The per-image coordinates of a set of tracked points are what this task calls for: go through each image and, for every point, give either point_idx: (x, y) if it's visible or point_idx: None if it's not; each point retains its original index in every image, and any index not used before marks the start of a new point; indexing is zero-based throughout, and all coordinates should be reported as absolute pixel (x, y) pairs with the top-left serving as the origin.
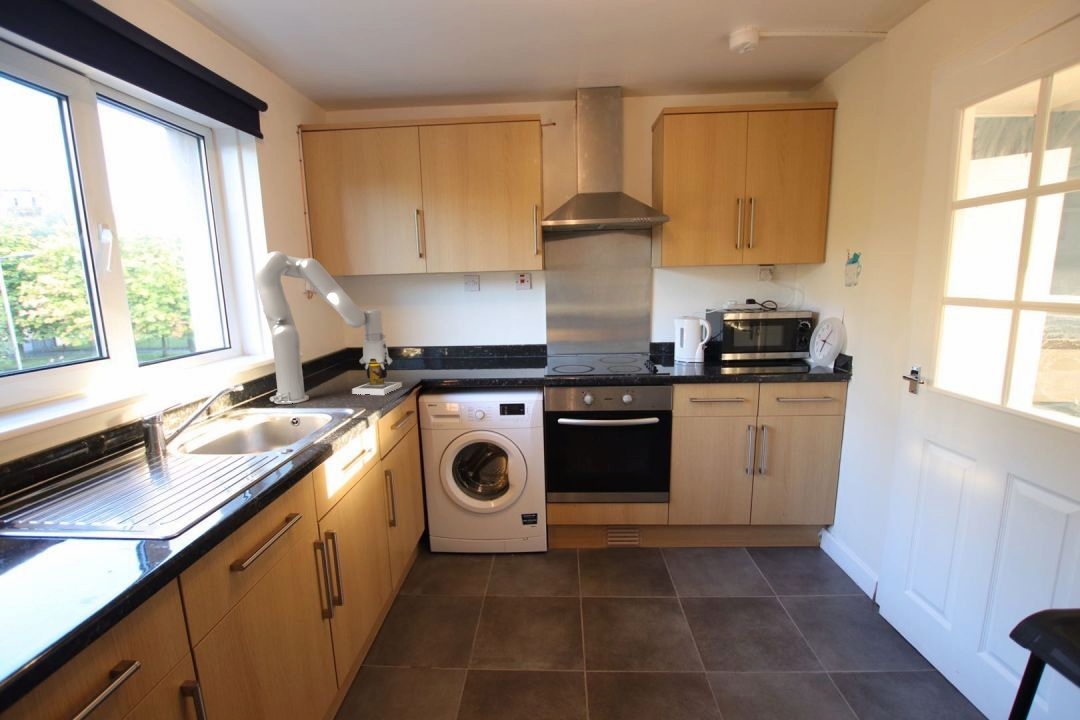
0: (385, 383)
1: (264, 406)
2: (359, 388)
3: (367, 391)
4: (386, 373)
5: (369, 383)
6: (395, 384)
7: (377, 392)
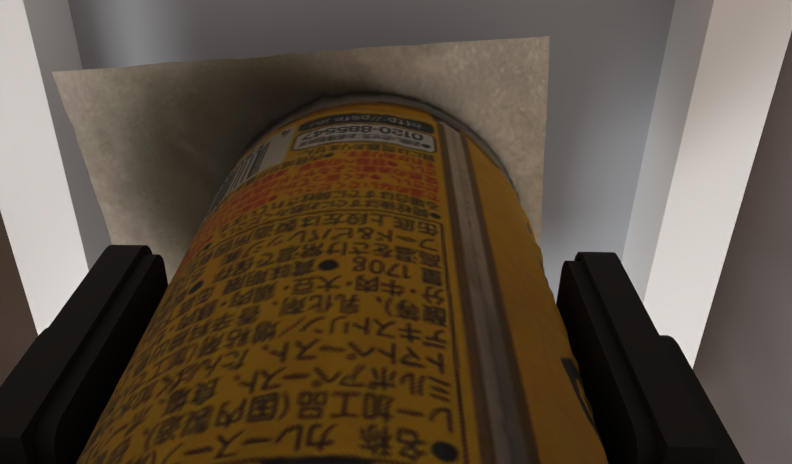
0: (530, 168)
1: None
2: None
3: None
4: (686, 384)
5: (135, 195)
6: (754, 92)
7: None
